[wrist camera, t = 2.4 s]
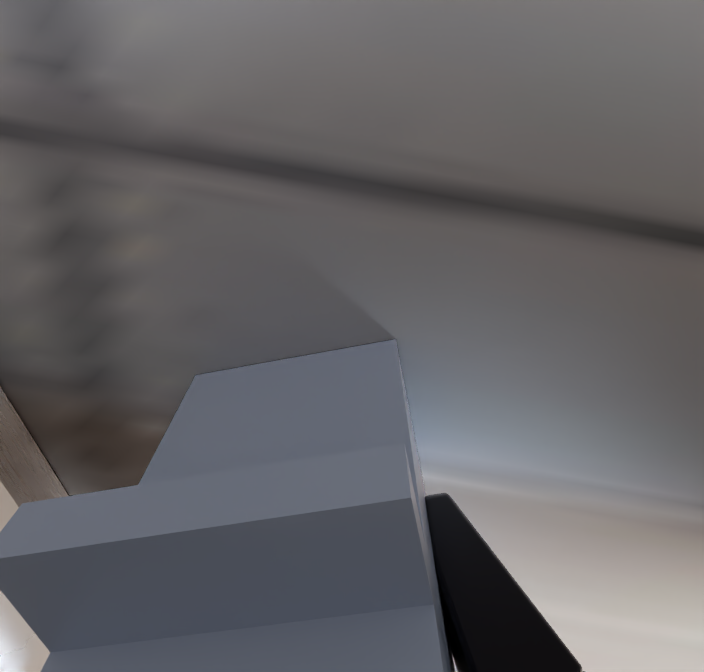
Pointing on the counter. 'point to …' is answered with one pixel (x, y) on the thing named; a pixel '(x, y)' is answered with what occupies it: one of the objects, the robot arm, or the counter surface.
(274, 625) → the block
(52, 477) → the mount plate
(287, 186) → the counter surface
